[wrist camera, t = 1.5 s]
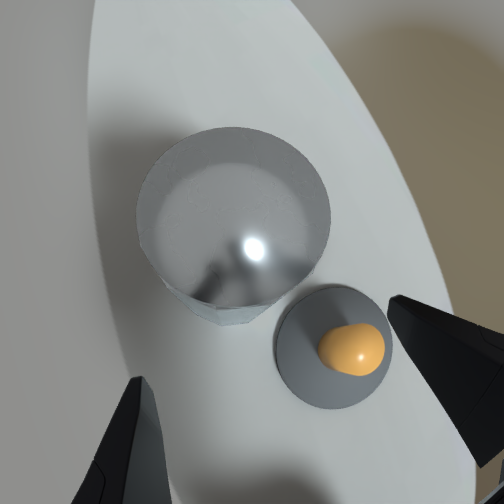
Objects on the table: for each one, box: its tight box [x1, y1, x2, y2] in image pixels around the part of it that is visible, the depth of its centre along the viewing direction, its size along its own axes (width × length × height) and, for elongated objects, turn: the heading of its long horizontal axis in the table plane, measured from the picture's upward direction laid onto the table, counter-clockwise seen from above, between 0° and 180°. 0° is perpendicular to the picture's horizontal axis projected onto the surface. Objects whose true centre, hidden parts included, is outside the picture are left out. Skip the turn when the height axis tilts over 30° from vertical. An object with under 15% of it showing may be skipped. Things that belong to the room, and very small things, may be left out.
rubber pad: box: [276, 287, 393, 409], centre depth 21 cm, size 9×9×1 cm
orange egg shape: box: [318, 323, 385, 376], centre depth 19 cm, size 3×3×4 cm
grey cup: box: [136, 127, 331, 326], centre depth 17 cm, size 7×7×12 cm
